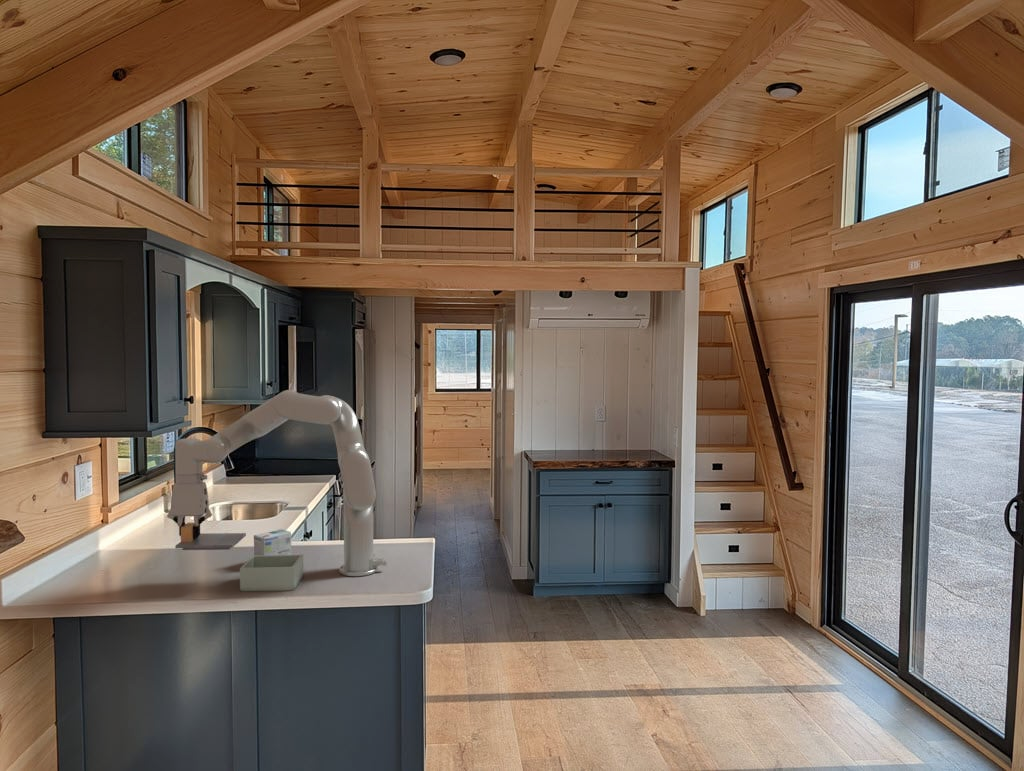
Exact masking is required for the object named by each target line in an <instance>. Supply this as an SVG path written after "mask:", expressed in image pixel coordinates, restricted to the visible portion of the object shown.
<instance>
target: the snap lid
mask: <svg viewBox="0 0 1024 771" xmlns="http://www.w3.org/2000/svg"><path fill="white" fill-rule="evenodd" d="M193 526H194V521H193V522H191V521H190V522H187V523H185V525H184V526H182V527H181V536H180V541H179V543H177V544H176V545H175V547H174V548H175V549H182V551H214V550H215V551H218V550H219V551H222V550H225V551H226V550H230V549H231V548H234V547H235V546H236V545H238V543H240V542H241V540H243V539H244V538H246V536H247V533H246V532H233V533H232V532H229V533H227V532H224V533H222V532H220V533H219V532H218V533H215V532H214V533H213V532H210V533H208V532H207V533H203V532H202V533H201V532H200V535H199V537H198V538H196V539H193Z"/></svg>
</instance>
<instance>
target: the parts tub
mask: <svg viewBox="0 0 1024 771" xmlns="http://www.w3.org/2000/svg"><path fill="white" fill-rule="evenodd" d="M303 578H304V554H291V555H267V556H254V555H252V556H250V557H249V559H247V561H245V563H243V565H241V567H240V568H239V592H266V591H267V592H269V591H271V592H272V591H273V592H275V591H277V592H279V591H295V590H296V589H297V587H298V585H299V584H300V582H301V581H302V579H303Z"/></svg>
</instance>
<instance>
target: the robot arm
mask: <svg viewBox="0 0 1024 771" xmlns="http://www.w3.org/2000/svg"><path fill="white" fill-rule="evenodd" d="M289 420H292V421H296V422H298V421H299V422H303V423H309V424H310V423H311V424H318V425H319V424H320V425H330V426H331V428H332V432H333V436H334V441H335V445H336V451H337V463H338V467H339V470H340V473H341V474H340V475H341V481H342V486H343V489H342V499H343V501H342V502H343V504H342V505H343V564H342V565H340V567H339V568H338V569H339V570H338V571H339V573H340V574H341V575H343V576H347V577H362V576H363V577H364V576H369V575H372V574H374V573H375V574H376V573H377V572H378V570H379V566H381V567H386V566H387V565H388V559H385V558H377V557H376V554H375V553H374V503H375V501H376V497H377V492H376V491H377V490H376V486H375V480H374V474H373V469H372V463H371V460H370V457H369V454H368V453H367V451H366V448H365V445H364V441H363V436H362V432H361V426H360V424H359V420H358V417H357V415H356V413H355V411H354V410H353V408H352V407H351V406H350V405H349V404H348V403H347V402H346V401H344V400H343V399H341V398H339V397H336V396H332V395H329V394H324V395H320V396H318V395H317V396H316V395H310V394H304V393H300V392H298V391H295V390H292V389H286V390H282V391H281V392H280V393H278V394H277V395H275V396H273V397H271V398H270V399H268V400H266V401H265V402H263V403H261V404H260V405H259V406H257V407H255V408H254V409H252V410H251V411H249V412H248V413H246V414H245V415H243V416H242V417H240V419H238V420H237V421H234V422H233V423H231V424H230V425H228V426H227V427H224V428H223V429H222V430H221V431H219V432H217V433H216V434H214V435H212V436H210V437H209V438H208V439H203V440H201V439H199V438H194V437H193V438H192V437H188V438H180V439H178V440H177V441H175V449H174V451H175V483H173V486H172V489H171V490H172V491H171V496H170V497H171V498H170V509H169V511H168V513H167V515H166V518H168V519H169V520H172V521H173V522H174V523H175V524H176V525H177V527H178V529H179V530H178V535H179V537H181V527H182V526H184V525H185V524H186V517H193V522H194V526H193V539H196V538H198V537H199V535H200V533H201V524H202V523H203V522H204V521H205V520H207V519H209V518H211V517H212V516H213V514H212V512H211V510H210V503H209V493H208V488H207V482H205V480H208V475H207V474H204V471H203V469H204V468H203V463H206V464H219V463H221V462H223V461H224V460H225V459H226V458H227V457H228V455H229V454H230V453H232V452H234V451H235V450H238V449H239V448H240V447H242V446H243V445H245V444H246V443H248V442H250V441H253V440H255V439H259V438H262V437H263V436H265V435H267V434H268V433H270V432H271V431H273V430H274V429H276V428H278V427H280V426H281V425H282V424H284V423H285V422H287V421H289Z"/></svg>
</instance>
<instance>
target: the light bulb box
mask: <svg viewBox="0 0 1024 771" xmlns="http://www.w3.org/2000/svg"><path fill="white" fill-rule="evenodd" d="M253 550H254V551H253V552H254V553H253V554H254V555H253V556H267V555H292V532H291V531H289V530H285V529H282V528H280V529H276V530H275V529H274V530H270V531H268V532H267V531H266V532H262V533H258V534H254V535H253Z"/></svg>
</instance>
